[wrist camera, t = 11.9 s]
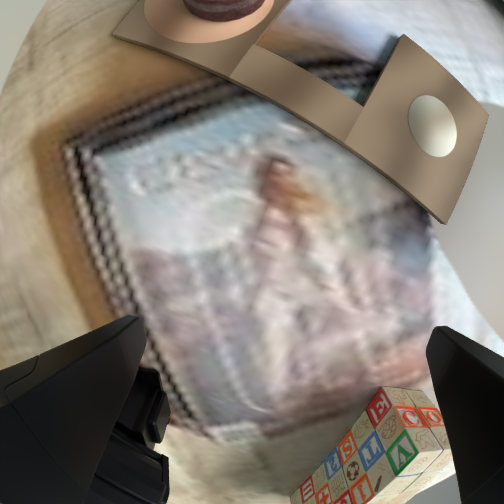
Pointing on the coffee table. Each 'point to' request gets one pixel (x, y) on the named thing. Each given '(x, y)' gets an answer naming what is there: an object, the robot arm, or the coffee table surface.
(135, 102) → the coffee table surface
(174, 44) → the socket board
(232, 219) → the coffee table surface
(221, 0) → the can
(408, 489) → the stack of blocks
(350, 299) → the coffee table surface
